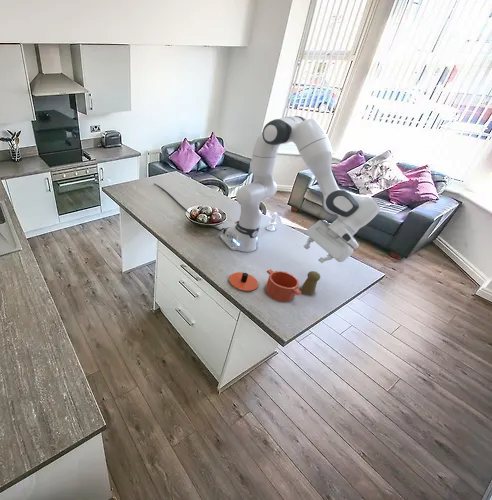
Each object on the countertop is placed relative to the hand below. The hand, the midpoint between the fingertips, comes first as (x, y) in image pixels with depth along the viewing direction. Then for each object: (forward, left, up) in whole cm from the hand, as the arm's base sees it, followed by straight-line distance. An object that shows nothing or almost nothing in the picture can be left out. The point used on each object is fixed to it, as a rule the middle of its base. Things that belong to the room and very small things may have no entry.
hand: (312, 254), depth 124 cm
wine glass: (-51, +36, -22) cm, 66 cm away
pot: (-4, -7, -22) cm, 24 cm away
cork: (+1, +6, -22) cm, 23 cm away
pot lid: (-16, -18, -21) cm, 33 cm away
